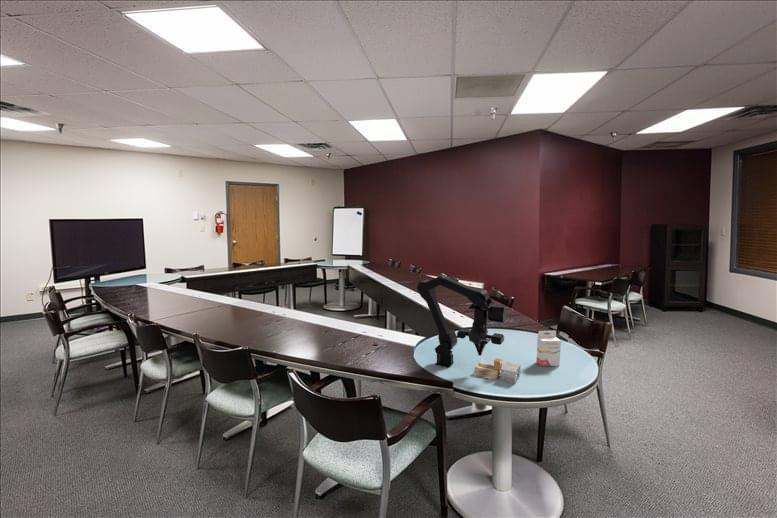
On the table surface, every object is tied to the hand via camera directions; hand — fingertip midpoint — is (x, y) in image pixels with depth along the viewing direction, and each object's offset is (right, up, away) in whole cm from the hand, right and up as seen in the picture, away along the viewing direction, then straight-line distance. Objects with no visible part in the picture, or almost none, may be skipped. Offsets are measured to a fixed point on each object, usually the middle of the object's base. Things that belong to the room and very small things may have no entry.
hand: (480, 355), depth 161 cm
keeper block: (+11, -8, -6) cm, 15 cm away
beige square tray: (+3, -7, -1) cm, 8 cm away
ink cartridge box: (+32, -6, +7) cm, 33 cm away
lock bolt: (+9, -6, -5) cm, 12 cm away
